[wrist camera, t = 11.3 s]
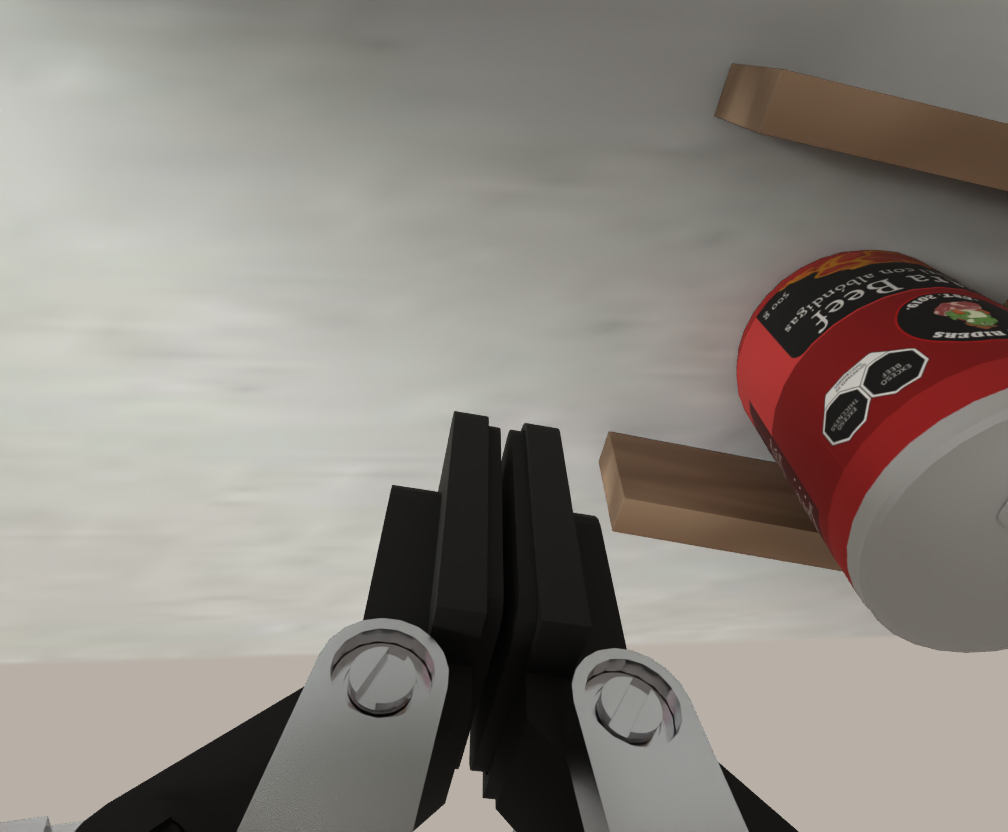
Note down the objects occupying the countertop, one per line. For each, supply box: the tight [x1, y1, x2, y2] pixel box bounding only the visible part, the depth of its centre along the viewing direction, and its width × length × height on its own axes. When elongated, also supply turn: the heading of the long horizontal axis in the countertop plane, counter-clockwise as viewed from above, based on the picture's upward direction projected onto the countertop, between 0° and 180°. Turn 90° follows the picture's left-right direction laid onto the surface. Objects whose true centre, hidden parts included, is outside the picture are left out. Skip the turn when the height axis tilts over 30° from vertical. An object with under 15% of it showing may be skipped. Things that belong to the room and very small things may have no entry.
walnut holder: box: [599, 64, 1008, 571], centre depth 23 cm, size 15×14×4 cm
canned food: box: [737, 250, 1008, 653], centre depth 20 cm, size 8×8×11 cm
